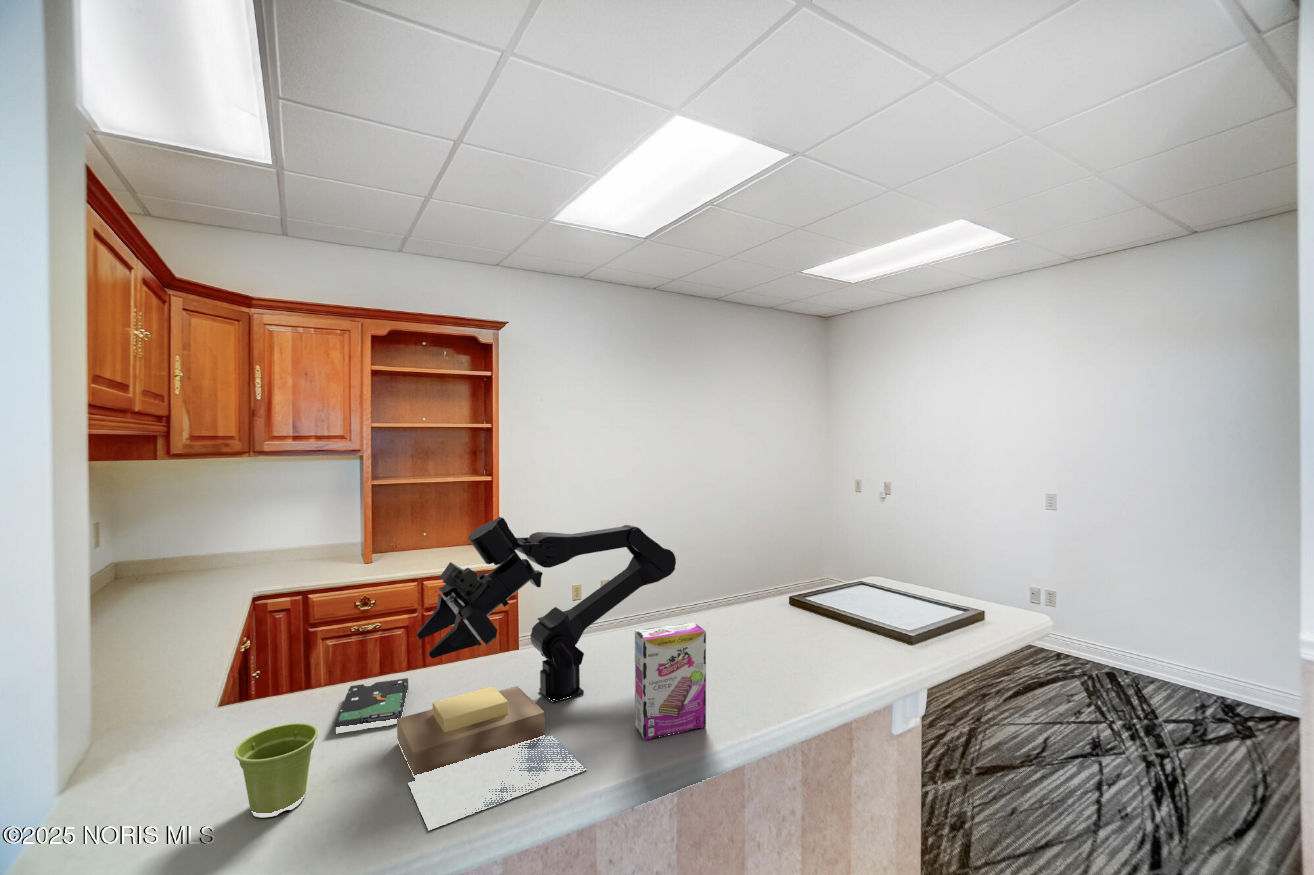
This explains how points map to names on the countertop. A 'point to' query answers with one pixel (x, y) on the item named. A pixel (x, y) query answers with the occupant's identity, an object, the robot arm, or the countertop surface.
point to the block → (469, 708)
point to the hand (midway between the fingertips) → (423, 646)
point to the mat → (540, 759)
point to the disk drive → (373, 703)
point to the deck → (468, 734)
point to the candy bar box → (670, 679)
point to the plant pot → (276, 765)
